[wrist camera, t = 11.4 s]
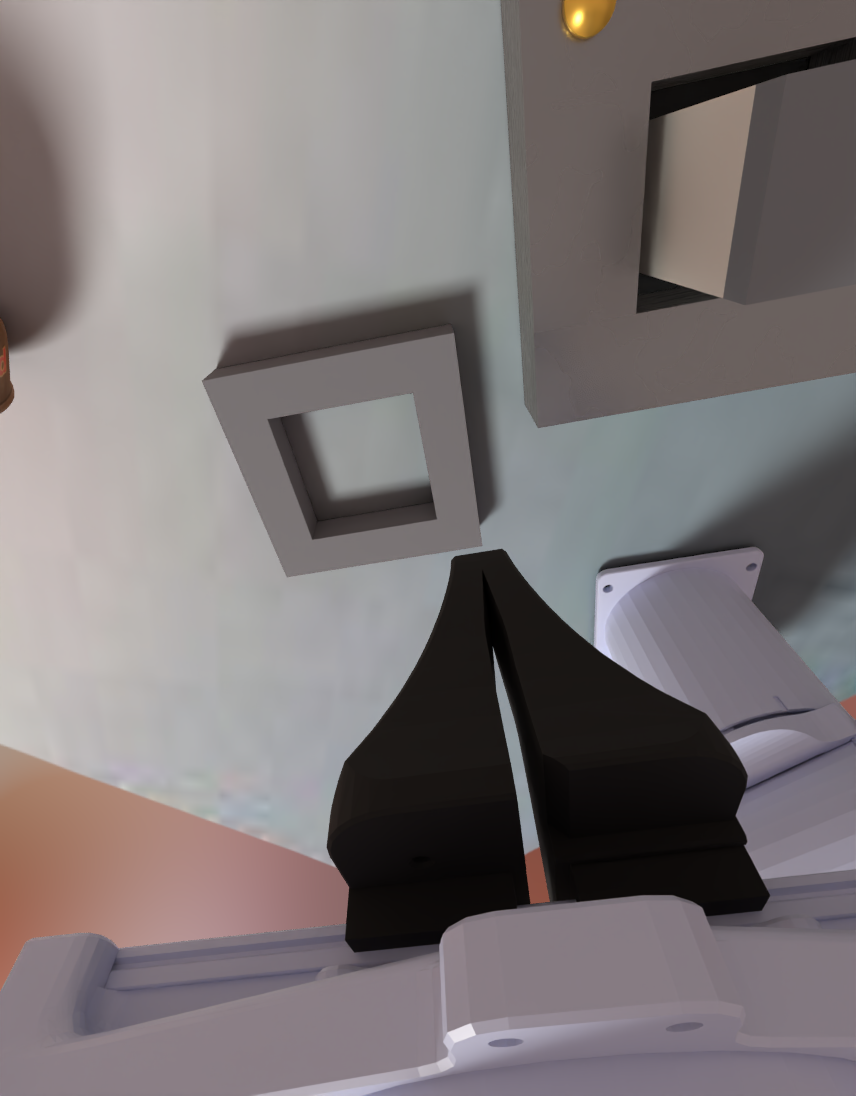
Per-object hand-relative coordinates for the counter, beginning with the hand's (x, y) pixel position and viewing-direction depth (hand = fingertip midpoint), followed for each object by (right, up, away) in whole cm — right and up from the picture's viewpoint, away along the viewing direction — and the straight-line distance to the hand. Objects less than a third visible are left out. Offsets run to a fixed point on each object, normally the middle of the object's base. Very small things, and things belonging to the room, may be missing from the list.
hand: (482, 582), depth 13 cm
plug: (+7, +13, +3) cm, 15 cm away
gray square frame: (-4, +5, +8) cm, 10 cm away
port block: (+7, +12, +3) cm, 15 cm away
